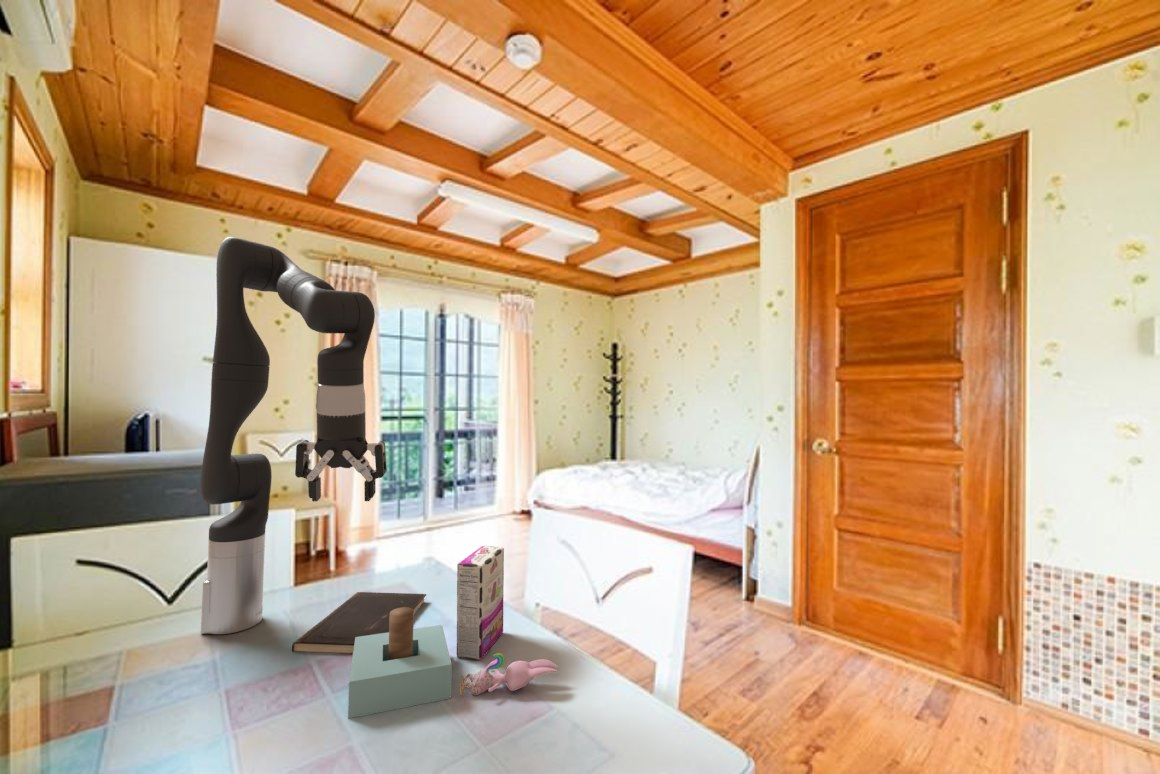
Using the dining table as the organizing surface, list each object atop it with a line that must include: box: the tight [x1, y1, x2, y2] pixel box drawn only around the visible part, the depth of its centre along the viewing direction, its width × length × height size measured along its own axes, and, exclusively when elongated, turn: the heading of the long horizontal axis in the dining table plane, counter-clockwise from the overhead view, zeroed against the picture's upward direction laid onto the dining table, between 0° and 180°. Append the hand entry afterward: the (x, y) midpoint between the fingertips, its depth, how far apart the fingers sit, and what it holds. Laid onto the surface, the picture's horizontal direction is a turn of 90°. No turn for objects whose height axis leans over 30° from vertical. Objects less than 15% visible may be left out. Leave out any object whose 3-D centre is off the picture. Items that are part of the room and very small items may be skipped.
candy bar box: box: [456, 545, 505, 661], centre depth 90 cm, size 11×5×16 cm, turn 168°
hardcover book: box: [291, 591, 427, 654], centre depth 98 cm, size 16×23×2 cm
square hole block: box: [347, 624, 453, 719], centre depth 78 cm, size 14×14×5 cm
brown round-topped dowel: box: [388, 607, 415, 660], centre depth 78 cm, size 4×4×11 cm
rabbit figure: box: [459, 653, 559, 697], centre depth 76 cm, size 6×6×15 cm
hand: (342, 499), depth 86 cm, fingers open, 8 cm apart
